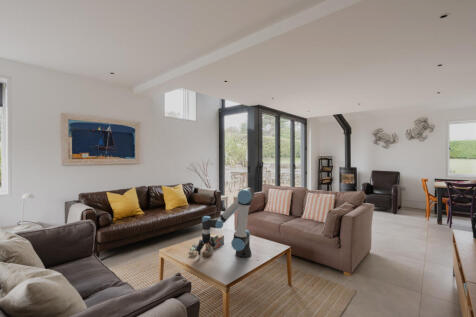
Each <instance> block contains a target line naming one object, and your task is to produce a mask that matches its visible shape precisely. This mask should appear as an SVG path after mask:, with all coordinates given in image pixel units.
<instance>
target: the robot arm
mask: <svg viewBox="0 0 476 317" xmlns="http://www.w3.org/2000/svg"><path fill="white" fill-rule="evenodd" d="M236 197H237V198H236V200H235V201H233V202H232V203H231V205H230V206H228V207H227V208H226V209H225V210H224V211H223V212H222V213H221V214H220V215H219V216H218V217H217V218H216V219H215V218H213V219H212V218H211V216H210V215H205V216H202V217H201V239H199V241H198V244H197V245H198V247H197V249H196V251H197V256H198V258H199V259H200V260H201V259H202V249H203V247H204V246H206V243H209V244H210V245H211V251H210V255H213V254H214V250H215V249H214V246H215V243H214V241H213V237H211V236H210V235H211V228H212V229H213V228H214V229H223V227H224V223H226V222H227V221H228V220H229V219H230V218H231V217H232V216H233V215H234V214H235V213H236V212H237V211H238V214H237V223H236V229H235V232H233V239H232V240H231V242H230V244H231V248H232V249H233V250H235V256H236V257H237V258H240V259H245V258H246V259H247V258H250V257H251V256H252V254H253V253H252V249H251V246H250V242H251V239H250V238H251V237H250V234H251V233H250V230H248V229H247V225H248V216H249V211H250V210H249V209H250V207H251V205H252V202H253V201H252V200H253V199H254V198H255V191H254V189H253V188H252V187H244V188H243V189H241V190H239V191H238V194H237V196H236ZM209 240H211V242H212V243H211V242H210V241H209Z"/></svg>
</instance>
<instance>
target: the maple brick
mask: <svg viewBox="0 0 476 317" xmlns="http://www.w3.org/2000/svg"><path fill="white" fill-rule="evenodd" d="M189 257H193V258H196V257H198V251H190V250H189Z"/></svg>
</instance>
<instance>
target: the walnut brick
mask: <svg viewBox="0 0 476 317" xmlns="http://www.w3.org/2000/svg"><path fill="white" fill-rule="evenodd" d="M202 257H205V258H210V257H211V251H209V250H203V251H202Z"/></svg>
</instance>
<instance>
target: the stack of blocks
mask: <svg viewBox="0 0 476 317" xmlns="http://www.w3.org/2000/svg"><path fill="white" fill-rule="evenodd" d="M210 236H211V237H213V241H214V243H215V246H214V250H215V249H217V248H220V247H222V246H223V245H225V236H224V235H223V234H214V233H213V234H210ZM209 241H210V242H211V240H209ZM211 243H212V242H211ZM205 251H208V252H211V245H210V244H209V243H206V244H205Z"/></svg>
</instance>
